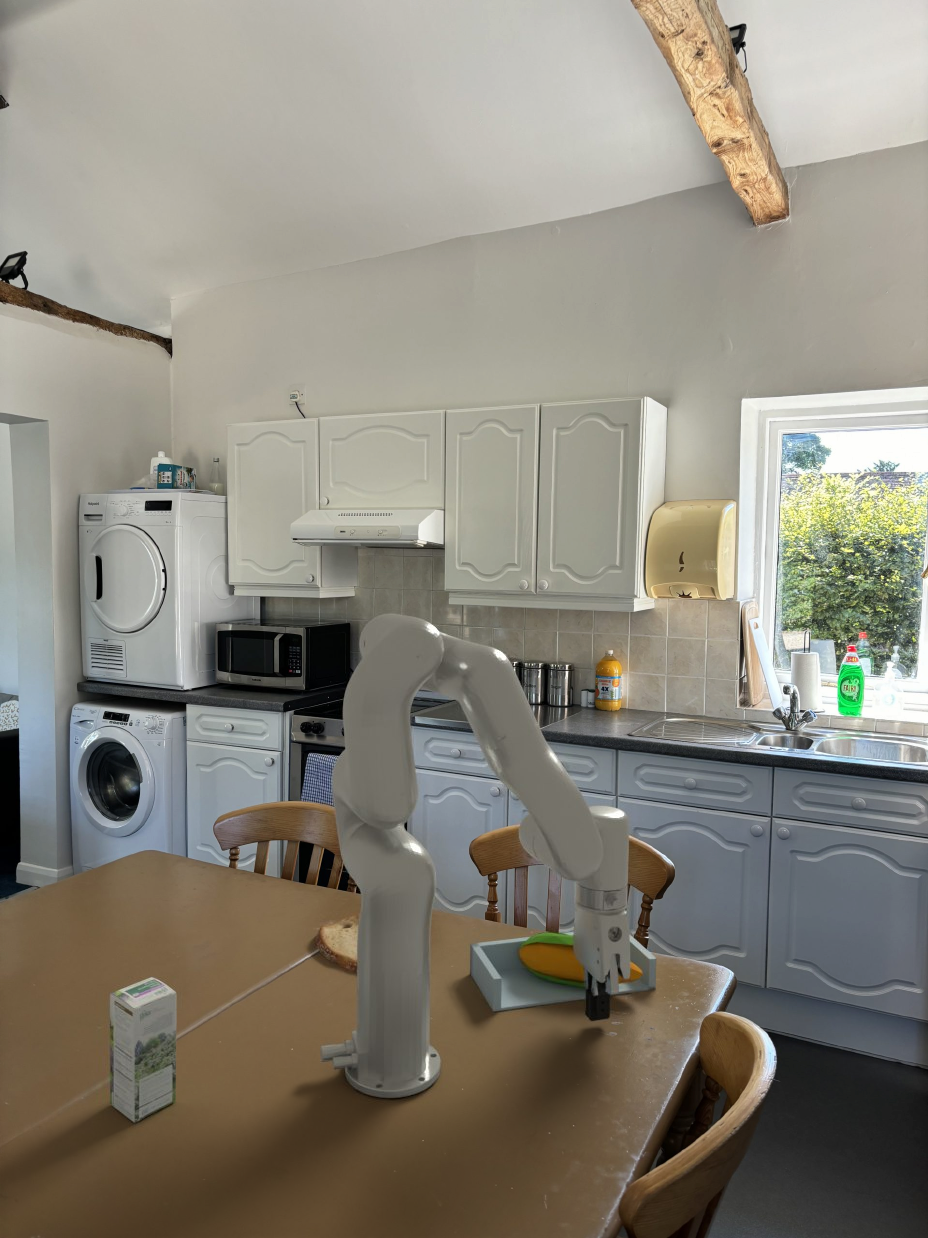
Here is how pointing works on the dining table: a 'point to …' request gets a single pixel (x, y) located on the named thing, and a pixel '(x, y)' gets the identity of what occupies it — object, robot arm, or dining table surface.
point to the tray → (521, 988)
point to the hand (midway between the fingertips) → (597, 1017)
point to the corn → (559, 960)
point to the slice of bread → (340, 942)
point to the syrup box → (142, 1048)
